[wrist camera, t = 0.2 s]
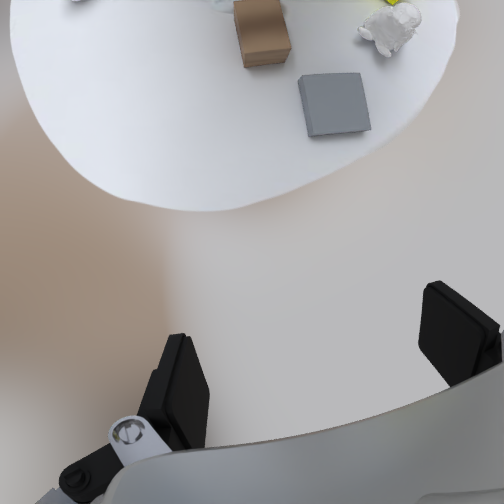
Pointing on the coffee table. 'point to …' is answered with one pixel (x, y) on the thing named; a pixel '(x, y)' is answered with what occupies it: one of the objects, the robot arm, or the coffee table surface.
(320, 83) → the plinth
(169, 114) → the coffee table surface
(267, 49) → the walnut brick
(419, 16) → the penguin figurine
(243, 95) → the coffee table surface
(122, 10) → the coffee table surface
